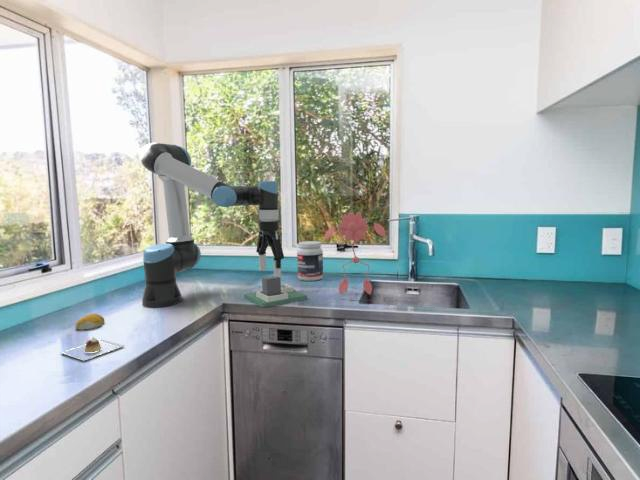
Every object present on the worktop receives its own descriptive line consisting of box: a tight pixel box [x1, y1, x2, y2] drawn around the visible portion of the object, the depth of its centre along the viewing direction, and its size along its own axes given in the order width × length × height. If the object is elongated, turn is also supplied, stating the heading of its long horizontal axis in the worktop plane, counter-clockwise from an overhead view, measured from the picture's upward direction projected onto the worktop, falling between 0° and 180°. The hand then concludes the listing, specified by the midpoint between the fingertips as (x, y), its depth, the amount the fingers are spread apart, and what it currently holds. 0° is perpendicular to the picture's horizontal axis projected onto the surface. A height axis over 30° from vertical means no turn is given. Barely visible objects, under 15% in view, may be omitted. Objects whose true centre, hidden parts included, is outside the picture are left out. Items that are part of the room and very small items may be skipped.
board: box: [243, 283, 308, 308], centre depth 170 cm, size 20×18×4 cm
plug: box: [261, 275, 282, 296], centre depth 166 cm, size 7×4×8 cm
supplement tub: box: [296, 240, 324, 282], centre depth 205 cm, size 13×13×18 cm
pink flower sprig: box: [324, 211, 386, 302], centre depth 168 cm, size 15×26×35 cm, turn 75°
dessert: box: [60, 336, 125, 362], centre depth 117 cm, size 12×12×5 cm
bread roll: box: [75, 313, 105, 331], centre depth 140 cm, size 8×9×4 cm
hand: (269, 273), depth 165 cm, fingers open, 13 cm apart
